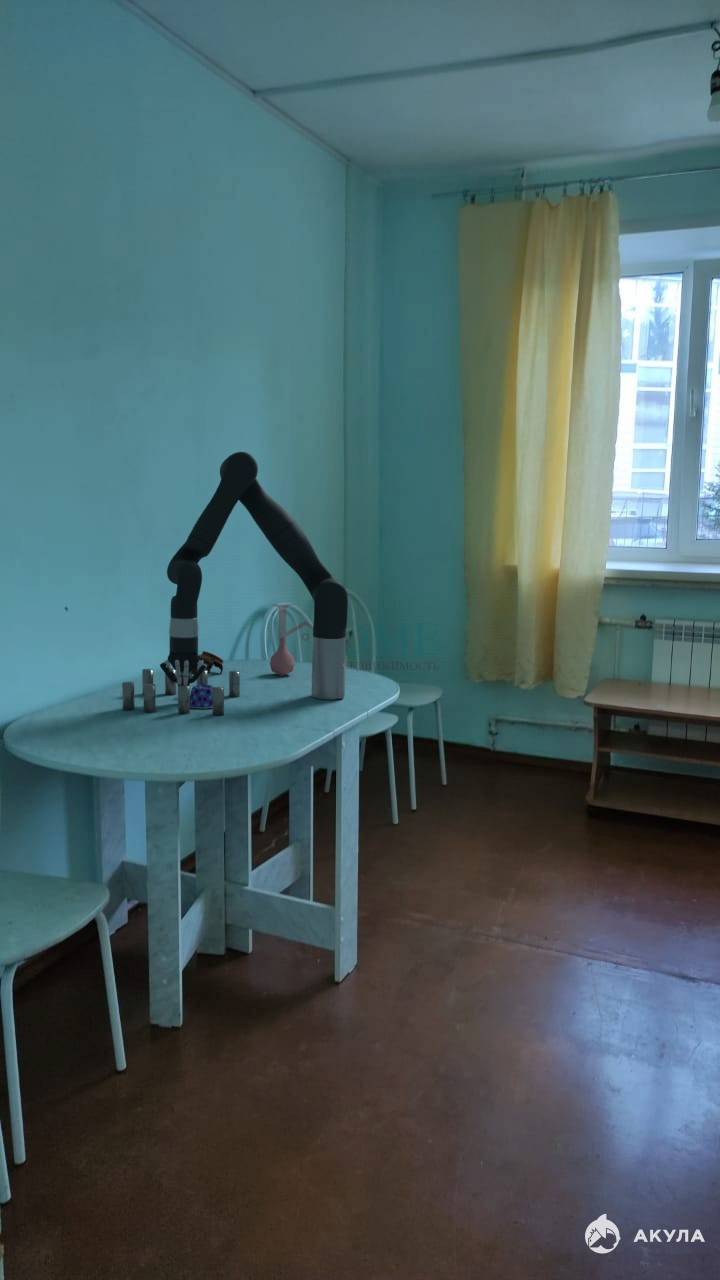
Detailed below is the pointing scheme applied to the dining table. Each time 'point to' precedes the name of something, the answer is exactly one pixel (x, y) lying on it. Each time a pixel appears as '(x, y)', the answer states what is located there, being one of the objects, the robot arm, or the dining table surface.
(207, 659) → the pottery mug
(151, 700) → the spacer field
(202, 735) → the dining table surface
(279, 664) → the perfume bottle
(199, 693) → the pudding
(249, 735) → the dining table surface
